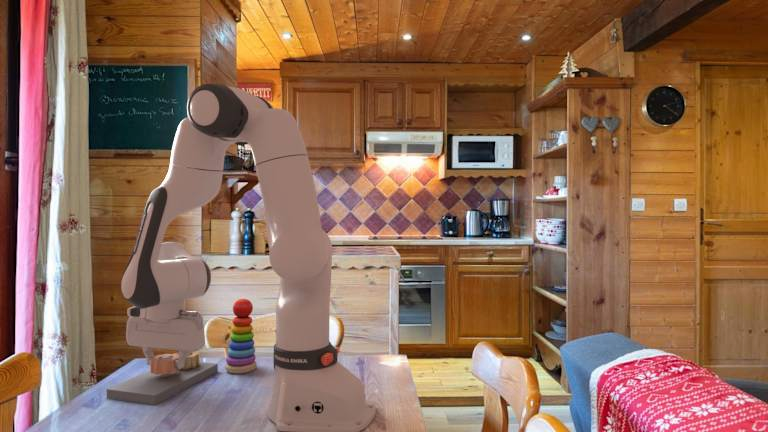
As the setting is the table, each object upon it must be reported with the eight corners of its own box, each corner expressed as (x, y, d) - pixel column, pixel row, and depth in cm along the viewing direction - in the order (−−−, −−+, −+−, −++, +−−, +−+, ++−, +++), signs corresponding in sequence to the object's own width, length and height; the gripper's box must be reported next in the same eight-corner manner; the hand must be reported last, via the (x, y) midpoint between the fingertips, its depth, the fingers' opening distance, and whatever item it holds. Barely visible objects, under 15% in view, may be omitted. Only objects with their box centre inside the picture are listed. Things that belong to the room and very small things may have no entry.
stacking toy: (247, 375, 117) (247, 302, 117) (219, 373, 119) (219, 301, 119) (261, 365, 125) (262, 297, 125) (234, 363, 127) (235, 295, 127)
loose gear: (186, 367, 114) (186, 354, 114) (167, 375, 107) (167, 363, 107) (164, 364, 115) (164, 352, 115) (143, 373, 109) (143, 360, 109)
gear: (205, 362, 121) (205, 346, 121) (188, 370, 114) (188, 354, 114) (184, 360, 123) (184, 344, 123) (166, 368, 116) (166, 351, 116)
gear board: (217, 371, 121) (217, 346, 121) (154, 404, 99) (154, 374, 99) (175, 366, 124) (176, 342, 124) (106, 398, 103) (106, 369, 103)
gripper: (210, 309, 112) (210, 366, 112) (141, 304, 117) (141, 358, 117) (193, 314, 105) (193, 374, 106) (121, 309, 111) (121, 366, 111)
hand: (165, 366), depth 111 cm, fingers closed on loose gear, 7 cm apart
